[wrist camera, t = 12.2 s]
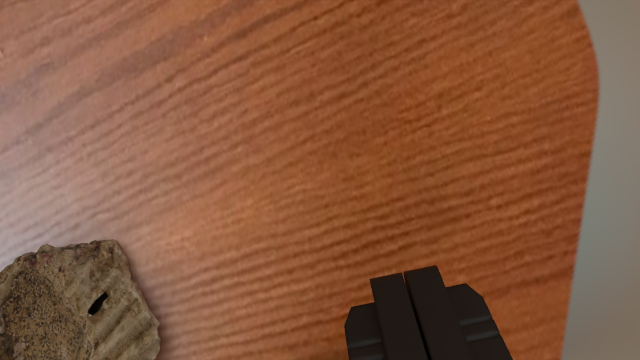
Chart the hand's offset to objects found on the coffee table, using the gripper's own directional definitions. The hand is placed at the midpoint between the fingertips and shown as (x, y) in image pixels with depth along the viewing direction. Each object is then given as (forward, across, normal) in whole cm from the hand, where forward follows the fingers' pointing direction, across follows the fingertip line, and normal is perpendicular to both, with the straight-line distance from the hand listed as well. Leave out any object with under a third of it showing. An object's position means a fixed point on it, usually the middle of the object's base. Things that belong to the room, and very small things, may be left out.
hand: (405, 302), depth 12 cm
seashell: (+18, +18, +12) cm, 28 cm away
